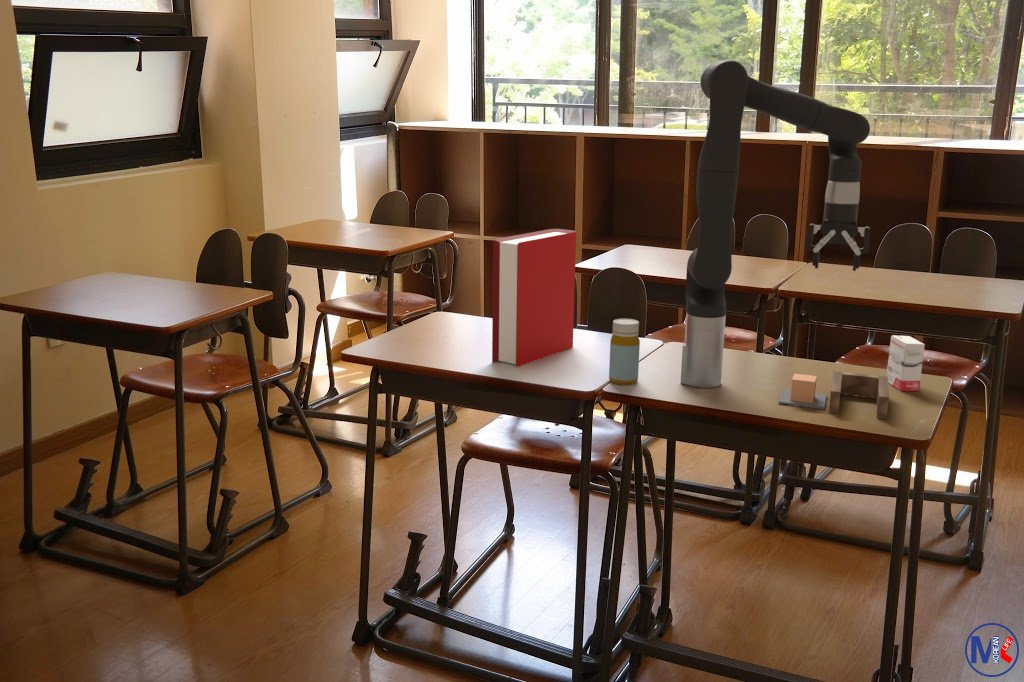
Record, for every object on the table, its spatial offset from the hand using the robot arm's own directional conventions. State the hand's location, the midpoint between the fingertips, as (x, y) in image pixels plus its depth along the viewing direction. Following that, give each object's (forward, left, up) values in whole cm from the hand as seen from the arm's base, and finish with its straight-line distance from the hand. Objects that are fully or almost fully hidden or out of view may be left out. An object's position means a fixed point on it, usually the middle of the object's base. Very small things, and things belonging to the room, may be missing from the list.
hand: (835, 269), depth 229 cm
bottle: (-46, -18, -28) cm, 57 cm away
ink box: (+18, +4, -28) cm, 34 cm away
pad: (-4, -17, -28) cm, 33 cm away
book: (-74, -2, -28) cm, 79 cm away
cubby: (+8, -16, -28) cm, 33 cm away
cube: (-4, -18, -28) cm, 33 cm away
